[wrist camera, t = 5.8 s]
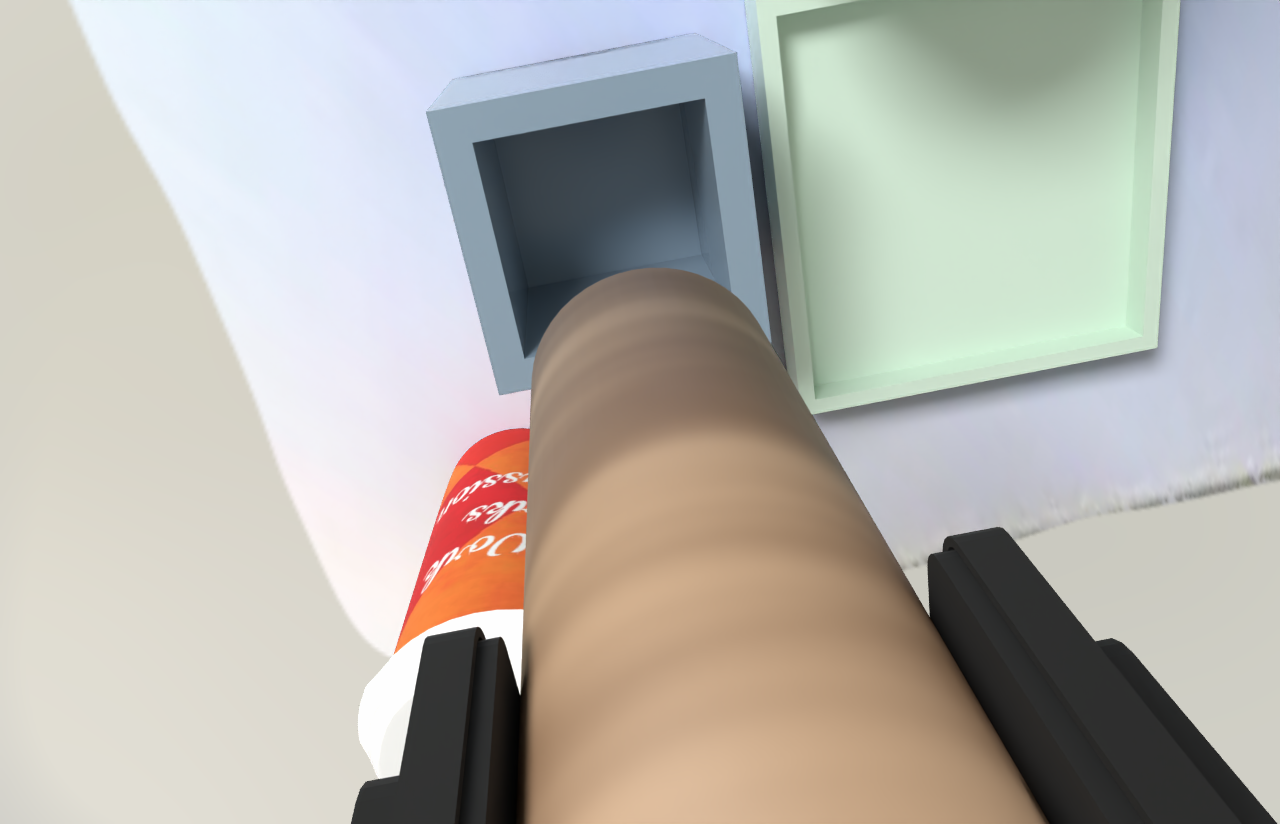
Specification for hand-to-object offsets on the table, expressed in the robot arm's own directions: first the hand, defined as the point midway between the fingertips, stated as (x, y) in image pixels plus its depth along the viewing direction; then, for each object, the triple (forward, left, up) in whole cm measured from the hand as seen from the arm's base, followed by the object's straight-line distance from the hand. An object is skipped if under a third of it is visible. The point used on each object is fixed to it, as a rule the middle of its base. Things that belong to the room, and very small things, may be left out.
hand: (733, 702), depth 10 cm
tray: (+3, +13, -27) cm, 30 cm away
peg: (0, 0, -8) cm, 8 cm away
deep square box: (0, 0, -27) cm, 27 cm away
